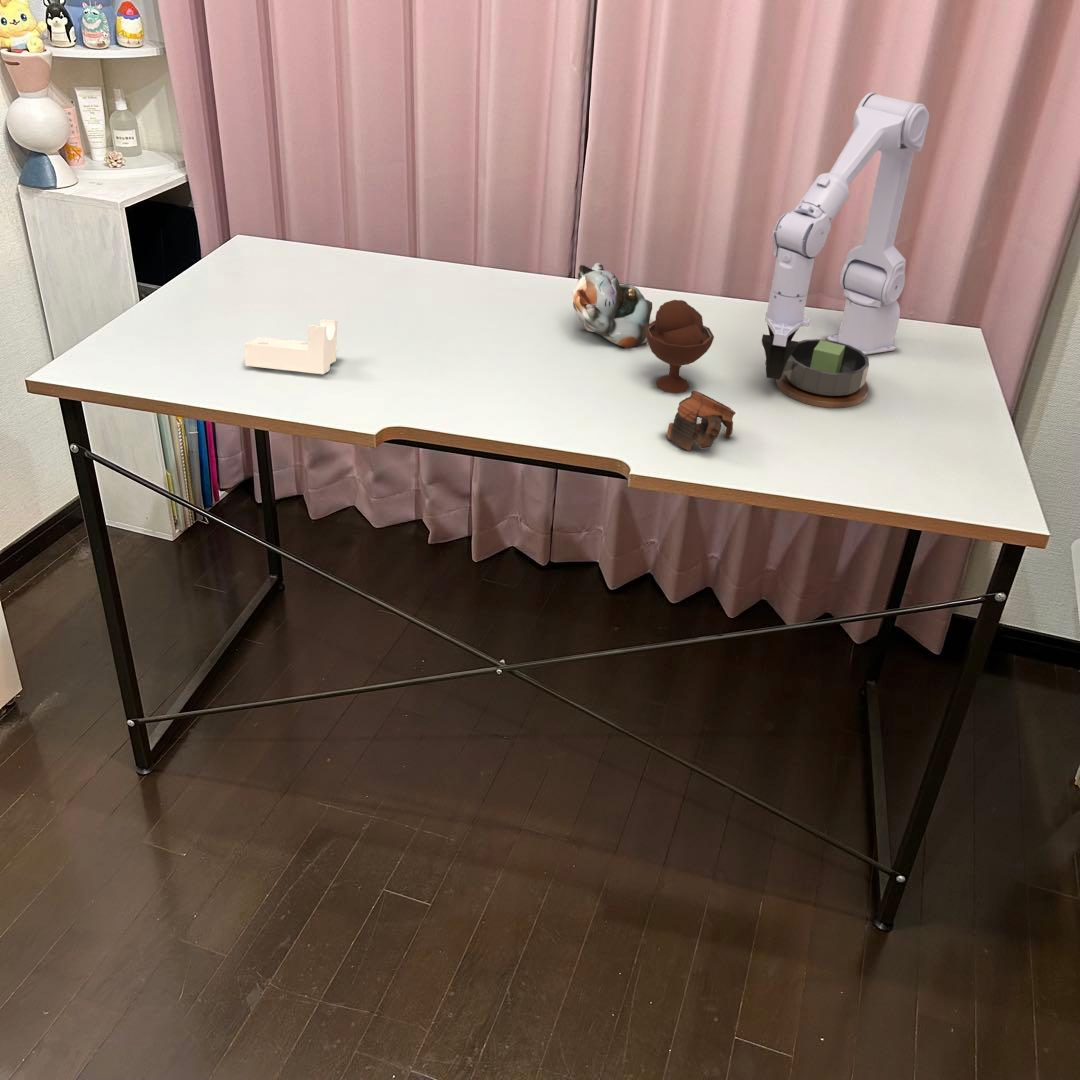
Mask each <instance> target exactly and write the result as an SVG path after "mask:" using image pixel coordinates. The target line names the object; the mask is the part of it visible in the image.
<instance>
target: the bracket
mask: <svg viewBox="0 0 1080 1080" xmlns="http://www.w3.org/2000/svg"><path fill="white" fill-rule="evenodd" d="M337 344H338V320H334V319H325V318H321V319H320V320H319V325H318V324H308V327H307V341H301V340H294V339H293V340H292V339H285V338H284V339H283V338H274V337H265V336H259V337H257V338H254V339H252V340H249V341H247V342H246V343H244V366H246V367H254V368H255V367H256V368H263V369H264V368H265V369H272V370H273V369H274V370H281V371H290V372H299V373H308V374H317V375H324V374H327V373H328V372H330V371H331V365H332V364H333V363H335V362H336V361H337V349H338V348H337V346H338V345H337Z"/></svg>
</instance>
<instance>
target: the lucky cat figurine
mask: <svg viewBox="0 0 1080 1080" xmlns="http://www.w3.org/2000/svg"><path fill="white" fill-rule="evenodd" d="M578 270H579V271H578V273H577V277H578V278H577V282H576V284H575V286H574V287H573V290H572V291H571V293H572V299H573V300H572V301H573V302H572V307H573V310H574V313H575V314H576V316H577V317H578V319H579V320H580V322H581V323H583V324H584V329H585V331H587V332H593V333H596V334H597V335H599V336H601V337H603V338H605V339H606V340H608V341H610V342H611V343H613V344H614V345H618V347H621V348H625V349H628V348H629V349H630V348H632V347H639V346H641V345H642V344H643V343H648V341H647V338H646V333H645V328H646V327H647V326H648V325H649V324H650V321H651V314H652V310H653V302H652V301H650V300H648V299H646V298H645V296H644V295H643V293H642V292H641V290H640V289H638V288H637V287H636V286H634V285H632V284H620V282H619V278H618V276H617V275H616V274H615V272H612V271H610V270H605V269H604V265H603V264H602V263H600V262H596V263H594V264H593V266H592V267H591V268H590V267H588V266H586V265H584V264H580V265H579V268H578Z"/></svg>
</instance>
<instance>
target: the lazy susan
mask: <svg viewBox="0 0 1080 1080" xmlns="http://www.w3.org/2000/svg"><path fill="white" fill-rule="evenodd" d="M776 386H777V387H778V389H779V390H780V391H781V392H782V393H783V394H785V395H786V396H787V397H790V399H793V400H795V401H798V402H800V403H802V404H803V403H804V404H806V405H810V406H814V407H819V408H828V409H829V408H831V409H841V408H849V407H853V406H856V405H859V404H861V403H862V402H864V401H865V400H866V399H867V396H868V393H869V385H868V383H867V381H865V384H864V385H863V386H862V387H861V389H860V390H858V391H857V392H855V393H852V394H849V395H842V396H828V395H820V394H815V393H811V392H808V391H805V390H802V389H800V388H798V387H796V386H794V385H793V384H792V383H790V382H789V381H788V380H787V378H786V377H785V374H784V371H783V373H782V376H781V377H780V379H779V380H777V379H776Z"/></svg>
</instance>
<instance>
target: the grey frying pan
mask: <svg viewBox="0 0 1080 1080" xmlns="http://www.w3.org/2000/svg"><path fill="white" fill-rule="evenodd" d="M820 340H823V341H827V342H831V343H836V344H840V345H844V346H845V350H844V354H843V359H842V363H841V368H840V372H839V373H833V372H825V371H820V370H816V369H813V368H810V366H811V361H812V356H813V351H814V348H815V347H816V346H817V344H818V343H819V341H820ZM764 362H765V363H764V365H765V366H766V360H765V361H764ZM869 366H870V360H869V357H868V356H867V355H865V354H864V353H863V352H862V351H860V350H858V349H856V348H854V347H852V346H850V345H847V344H843V343H840V342H836V341H830V340H828V339H820V338H815V339H803V340H800V341H798V346H797V348H796V349H795V351H794V352H793V353H792V354H791V356H790V357H789V359H788V361H787V363H786V366H785V368H784V374H785V377H786V378H787V380H788V381H789V382H790V383H792V384H793V385H794V386H796V387H798V388H800V389H802V390H805V391H808V392H811V393H815V394H820V395H828V396H842V395H849V394H852V393H855V392H857V391H858V390H860V389H861V387H862V386H863V385H864V384H865V381H866V380H867V375H868V371H869ZM866 382H867V381H866Z"/></svg>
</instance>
